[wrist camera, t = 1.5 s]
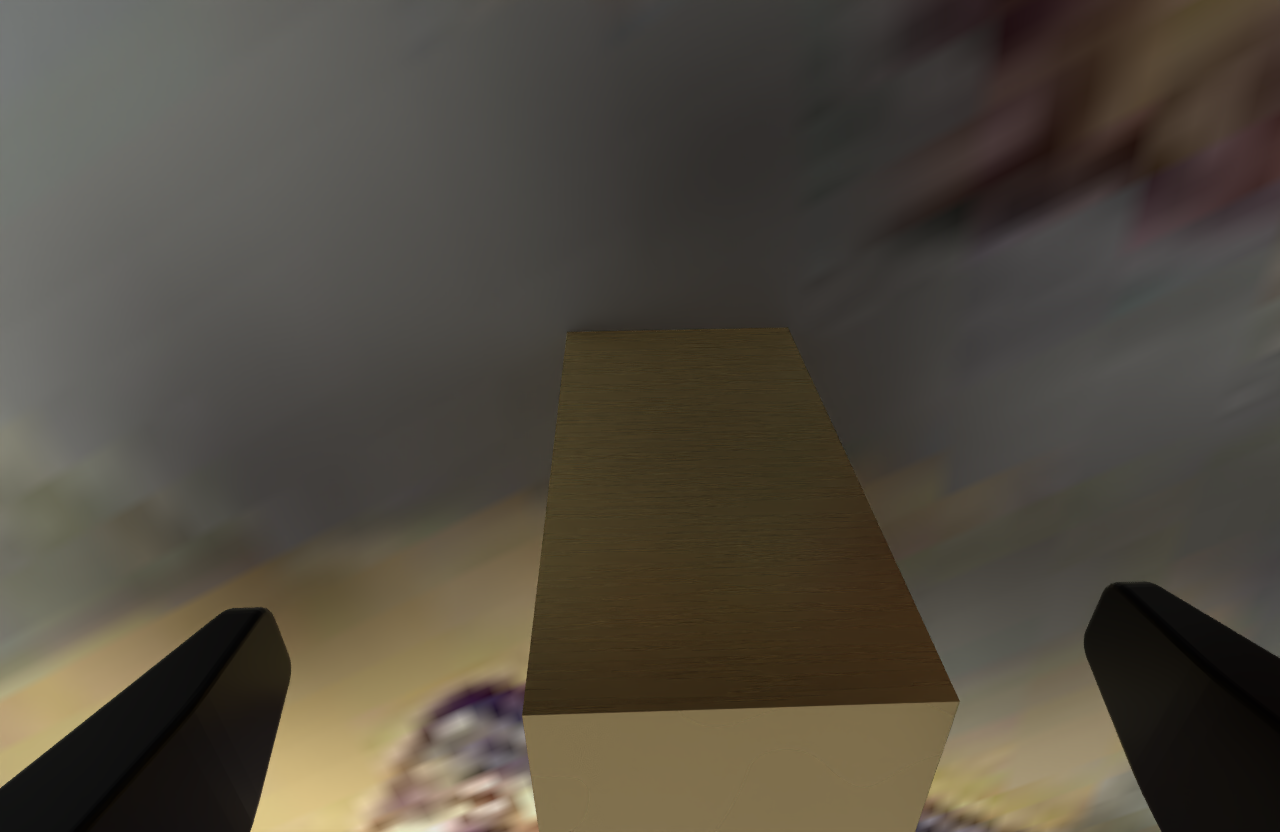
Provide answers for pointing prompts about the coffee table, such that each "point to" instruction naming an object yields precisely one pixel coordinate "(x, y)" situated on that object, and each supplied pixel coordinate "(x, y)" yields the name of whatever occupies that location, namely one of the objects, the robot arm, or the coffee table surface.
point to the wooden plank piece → (719, 605)
